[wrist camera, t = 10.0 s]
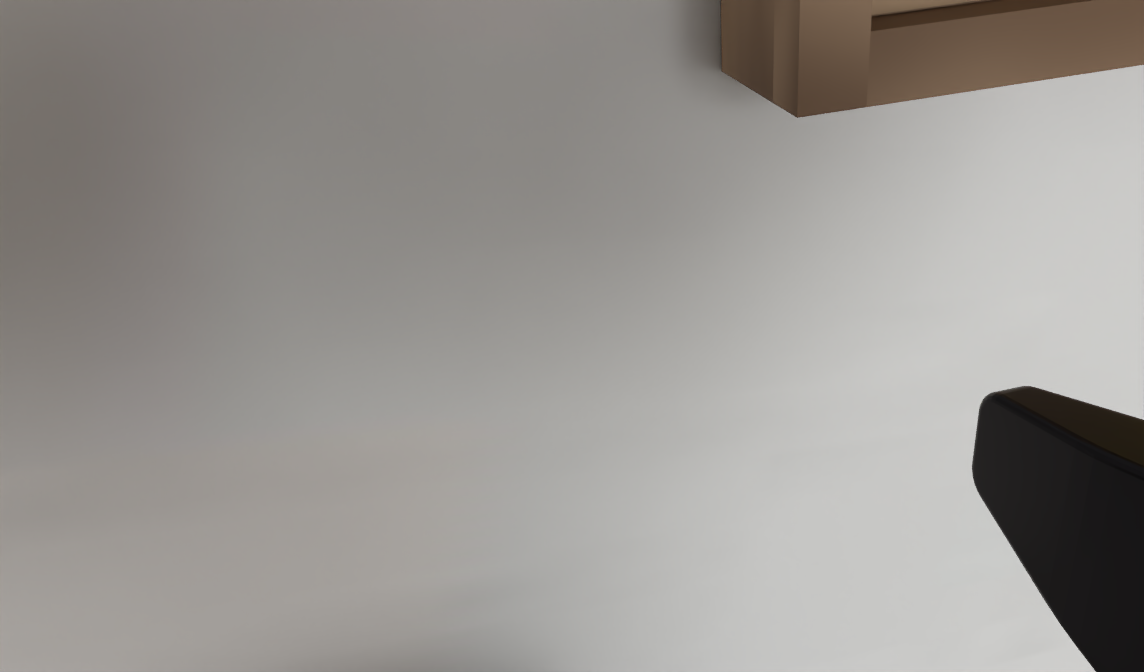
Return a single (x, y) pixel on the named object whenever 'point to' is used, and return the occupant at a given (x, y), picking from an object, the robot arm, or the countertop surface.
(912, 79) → the walnut base
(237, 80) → the countertop surface
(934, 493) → the countertop surface
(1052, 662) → the countertop surface
